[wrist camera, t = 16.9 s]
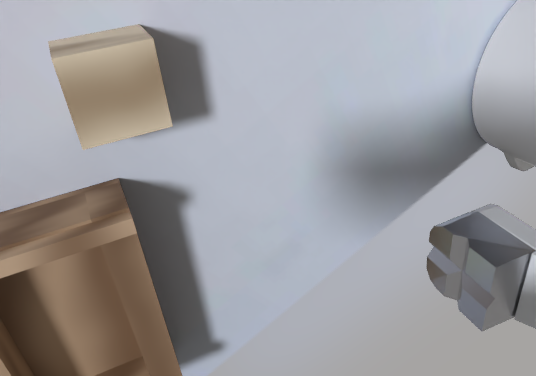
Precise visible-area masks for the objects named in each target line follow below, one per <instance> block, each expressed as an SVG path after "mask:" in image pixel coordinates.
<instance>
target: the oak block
mask: <svg viewBox="0 0 536 376" xmlns="http://www.w3.org/2000/svg"><path fill="white" fill-rule="evenodd" d="M48 43H49V48H50V54H51V59H52V62H53V65H54V68H55V70H56V73H57V76H58V79H59V82H60V85H61V88H62V91H63V94H64V97H65V99H66V102H67V105H68V108H69V111H70V114H71V117H72V120H73V123H74V125H75V128H76V131H77V134H78V137H79V140H80V143H81V146H82V149H83V150H85V149H88V148H92V147H96V146H100V145H104V144H107V143H111V142H115V141H119V140H123V139H127V138H130V137H134V136H138V135H142V134H146V133H150V132H153V131H157V130H161V129H165V128H169V127H173V126H172V121H171V116H170V112H169V107H168V103H167V98H166V94H165V89H164V85H163V80H162V76H161V71H160V67H159V62H158V58H157V53H156V49H155V44H154V39H153V38H152V37H151V36H150V35H149V34H148V33H147V32H146V31H145V30H144V29H143V28H142V27H141V26H140V25H139V24H138V25H132V26H127V27H122V28H117V29H111V30H106V31H101V32H96V33H90V34H85V35H80V36H75V37H70V38H64V39H59V40H54V41H49V42H48Z"/></svg>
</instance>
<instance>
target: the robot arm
mask: <svg viewBox="0 0 536 376" xmlns="http://www.w3.org/2000/svg"><path fill="white" fill-rule="evenodd" d="M472 112H473V119H474V123H475V126H476V129H477V131H478V133H479V134H480V136H481V137H482V139H483V140H484V141H485V142H487V143H488V144H489V145H491V146H493V147H495V148H498V149H500V150H501V151H502V152H504V154H505V157H506V159H507V161H508V163H509V164H510V166H511V167H513V168H516V169H518V170H521V171H526V170H528V169H530V168H532V167H534V166H536V0H517V1H516V3H515V4H514V5H513V6H512V7H511V8H510V10H509V11H508V12H507V13H506V15H505V16H504V17H503V19H502V20H501V22H500V23H499V25H498V26H497V28H496V30H495V31H494V33H493V35H492V36H491V38H490V40H489V42H488V44H487V46H486V48H485V51H484V53H483V55H482V58H481V61H480V64H479V67H478V70H477V73H476V77H475V82H474V87H473V95H472ZM429 242H430V243H431V244H432V245H433V246H434V247H433V249H432V250H431V252H430V253H429V255H428V256H427V271H428V274H429V277H430V280H431V281H432V283H433V284H434V286H435V287H436V288H437V289H438V290H439V291H440V292H441V293H442V294H443V295H444V296H446V297H449V298H452V299H455V300H457V301H458V308H459V310H460V312H462V313H463V314H464V315H465V316H466V317H467V318H468V319H469V320H470V321H471V322H472V323H473V324H474V325H475V326H476V327H478V328H479V329H480V330H481V331H484V330H486V329H489V328H491V327H493V326H495V325H498V324H500V323H502V322H504V321H506V320H509V319H511V318H513V317H515V320H517V321H519V322H522V323H524V324H526V325H528V326H531V327H533V328H535V329H536V229H534V228H533V227H531V226H530V225H528V224H526V223H525V222H523V221H522V220H520V219H519V218H517V217H515V216H514V215H512V214H510V213H509V212H508V211H506V210H504V209H503V208H501V207H500V206H498V205H494V204H489V205H486V206H484V207H481V208H479V209H476V210H474V211H471V212H468V213H466V214H463V215H461V216H458V217H456V218H453V219H451V220H448V221H446V222H443V223H441V224H438V225H436V226H434V227H433V229H432V230H431V231H430V237H429Z"/></svg>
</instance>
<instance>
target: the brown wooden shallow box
mask: <svg viewBox="0 0 536 376" xmlns="http://www.w3.org/2000/svg"><path fill="white" fill-rule="evenodd" d="M0 376H182V373H181V370H180V367H179V364H178V361H177V358H176V354H175V351H174V348H173V345H172V342H171V339H170V336H169V332H168V329H167V326H166V323H165V320H164V317H163V314H162V310H161V307H160V304H159V301H158V298H157V295H156V292H155V288H154V285H153V282H152V279H151V276H150V273H149V270H148V266H147V263H146V260H145V257H144V254H143V251H142V247H141V244H140V241H139V238H138V235H137V231H136V228H135V225H134V221H133V218H132V215H131V213H130V210H129V207H128V204H127V201H126V198H125V195H124V193H123V190H122V187H121V184H120V181H119V179H118V178H117V179H114V180H110V181H107V182H103V183H100V184H97V185H93V186H90V187H86V188H83V189H79V190H76V191H73V192H69V193H66V194H62V195H59V196H56V197H52V198H49V199H45V200H42V201H38V202H35V203H32V204H28V205H25V206H21V207H18V208H14V209H11V210H8V211H4V212H1V213H0Z"/></svg>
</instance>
